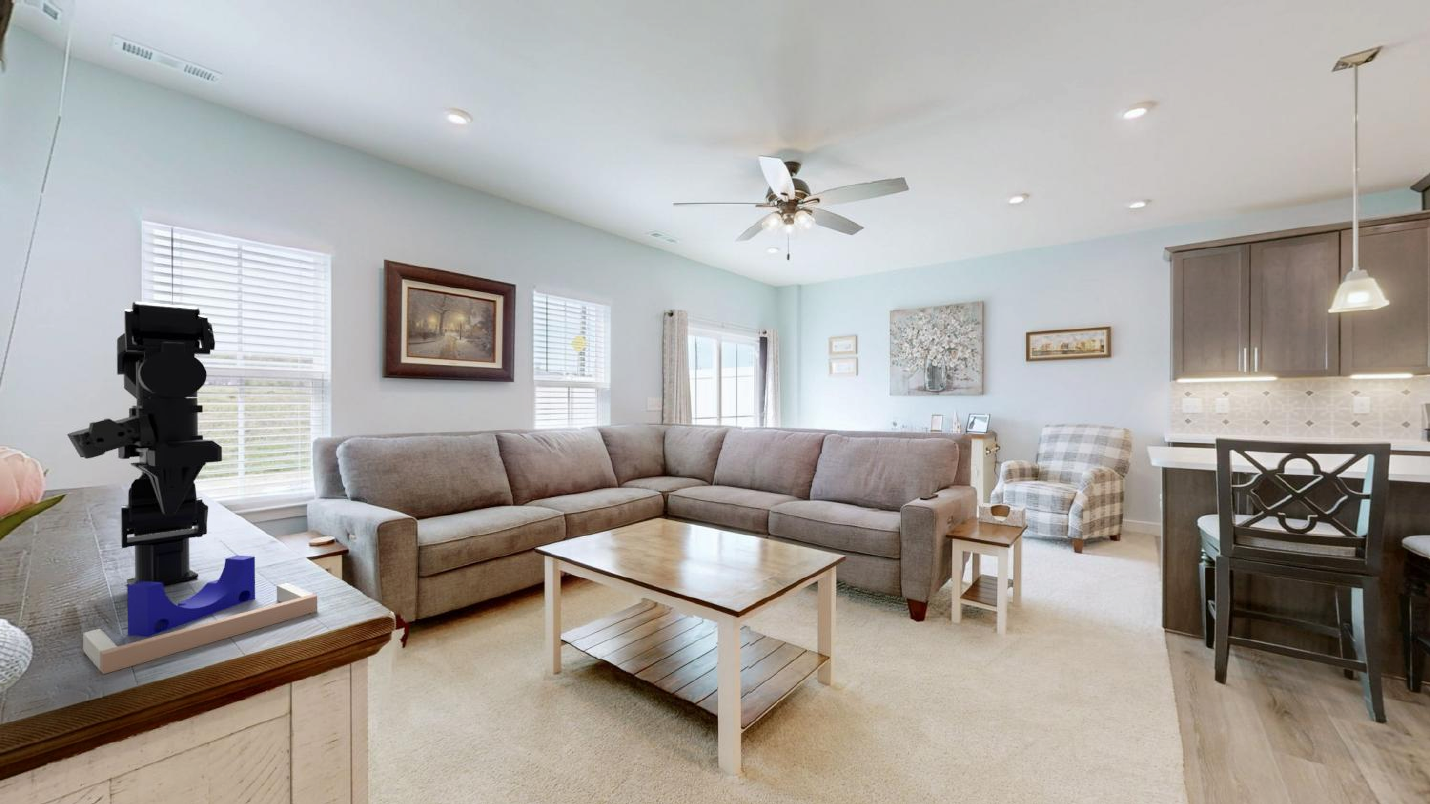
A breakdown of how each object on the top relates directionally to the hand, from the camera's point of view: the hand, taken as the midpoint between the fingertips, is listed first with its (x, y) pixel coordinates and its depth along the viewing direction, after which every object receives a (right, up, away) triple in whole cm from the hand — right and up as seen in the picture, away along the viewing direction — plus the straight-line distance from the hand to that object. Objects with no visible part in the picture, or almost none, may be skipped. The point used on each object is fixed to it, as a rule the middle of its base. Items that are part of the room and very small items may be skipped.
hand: (169, 514), depth 72 cm
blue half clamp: (+7, -13, -4) cm, 15 cm away
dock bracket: (+13, -12, -8) cm, 19 cm away
